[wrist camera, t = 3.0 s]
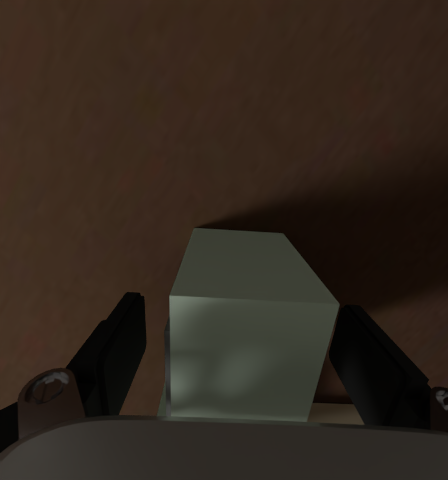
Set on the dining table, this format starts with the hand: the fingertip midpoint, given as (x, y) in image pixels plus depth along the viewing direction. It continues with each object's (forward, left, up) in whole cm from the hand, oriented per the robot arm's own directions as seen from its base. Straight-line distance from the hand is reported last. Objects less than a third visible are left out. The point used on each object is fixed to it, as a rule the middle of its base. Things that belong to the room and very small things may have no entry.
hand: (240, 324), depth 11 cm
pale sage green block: (0, 0, -2) cm, 2 cm away
